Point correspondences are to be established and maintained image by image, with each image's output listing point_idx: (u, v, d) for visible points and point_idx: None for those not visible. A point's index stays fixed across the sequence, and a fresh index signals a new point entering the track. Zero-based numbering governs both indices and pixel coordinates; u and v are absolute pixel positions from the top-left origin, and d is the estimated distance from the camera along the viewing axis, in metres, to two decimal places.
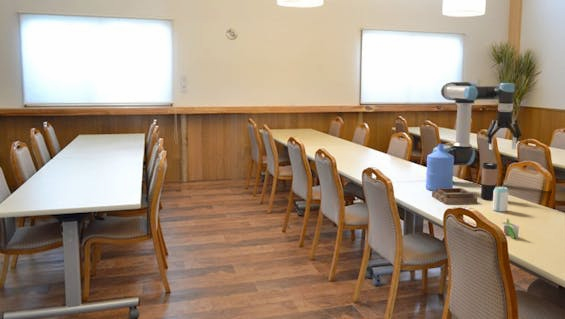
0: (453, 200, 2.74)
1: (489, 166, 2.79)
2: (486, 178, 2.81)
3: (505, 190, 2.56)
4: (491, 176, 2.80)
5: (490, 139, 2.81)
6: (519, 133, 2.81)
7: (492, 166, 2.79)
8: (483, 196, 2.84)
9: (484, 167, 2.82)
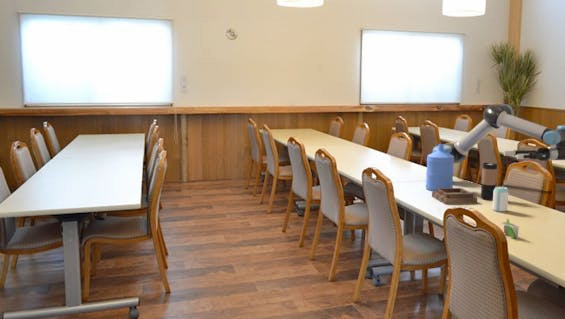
0: (453, 200, 2.74)
1: (489, 166, 2.79)
2: (486, 178, 2.81)
3: (505, 190, 2.56)
4: (491, 176, 2.80)
5: (528, 157, 2.76)
6: (517, 154, 2.93)
7: (492, 166, 2.79)
8: (483, 196, 2.84)
9: (484, 167, 2.82)
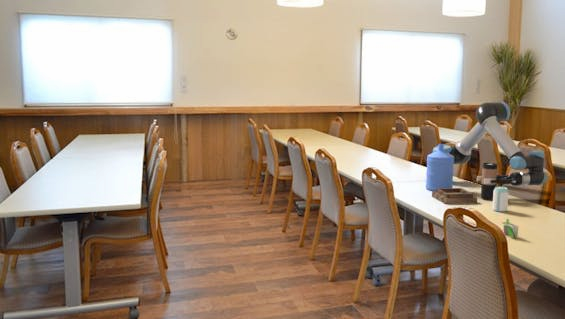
0: (453, 200, 2.74)
1: (489, 166, 2.79)
2: (486, 178, 2.81)
3: (505, 190, 2.56)
4: (491, 176, 2.80)
5: (494, 182, 2.79)
6: None
7: (492, 166, 2.79)
8: (483, 196, 2.84)
9: (484, 167, 2.82)
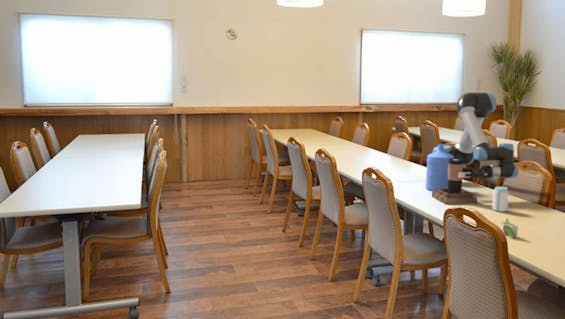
0: (453, 200, 2.74)
1: (454, 161, 2.77)
2: (452, 173, 2.78)
3: (505, 190, 2.56)
4: (457, 172, 2.77)
5: None
6: None
7: (457, 161, 2.76)
8: (449, 192, 2.81)
9: (450, 162, 2.79)
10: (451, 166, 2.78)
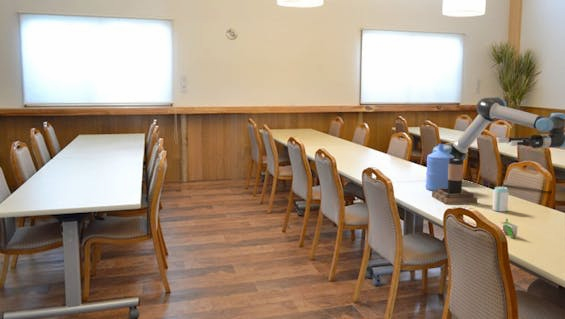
0: (453, 200, 2.74)
1: (455, 161, 2.77)
2: (452, 173, 2.78)
3: (505, 190, 2.56)
4: (457, 172, 2.77)
5: (521, 144, 2.77)
6: (510, 141, 2.93)
7: (458, 161, 2.76)
8: (449, 192, 2.81)
9: (450, 162, 2.79)
10: (451, 166, 2.78)
